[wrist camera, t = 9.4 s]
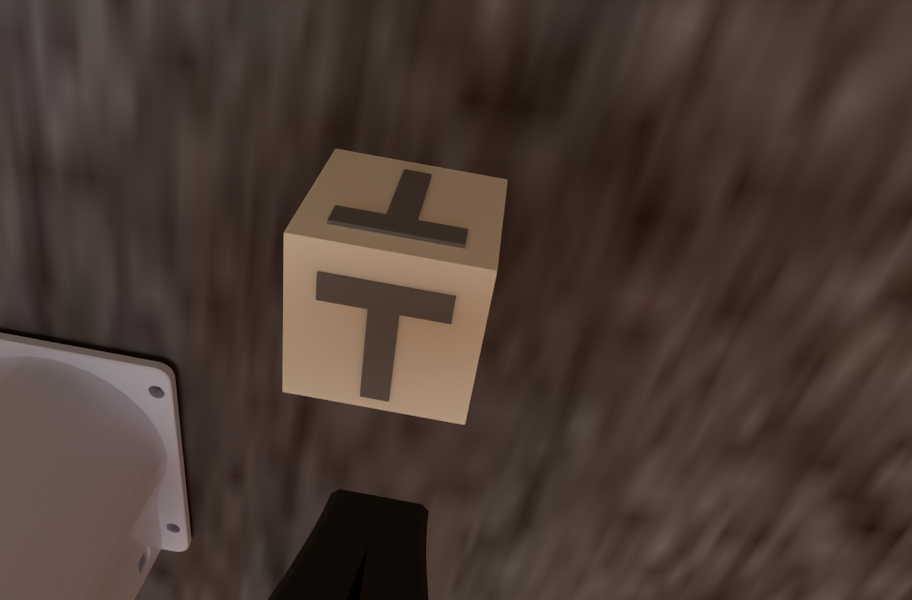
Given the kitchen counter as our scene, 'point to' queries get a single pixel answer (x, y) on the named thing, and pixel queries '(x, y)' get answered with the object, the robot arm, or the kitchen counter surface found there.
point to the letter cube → (390, 285)
